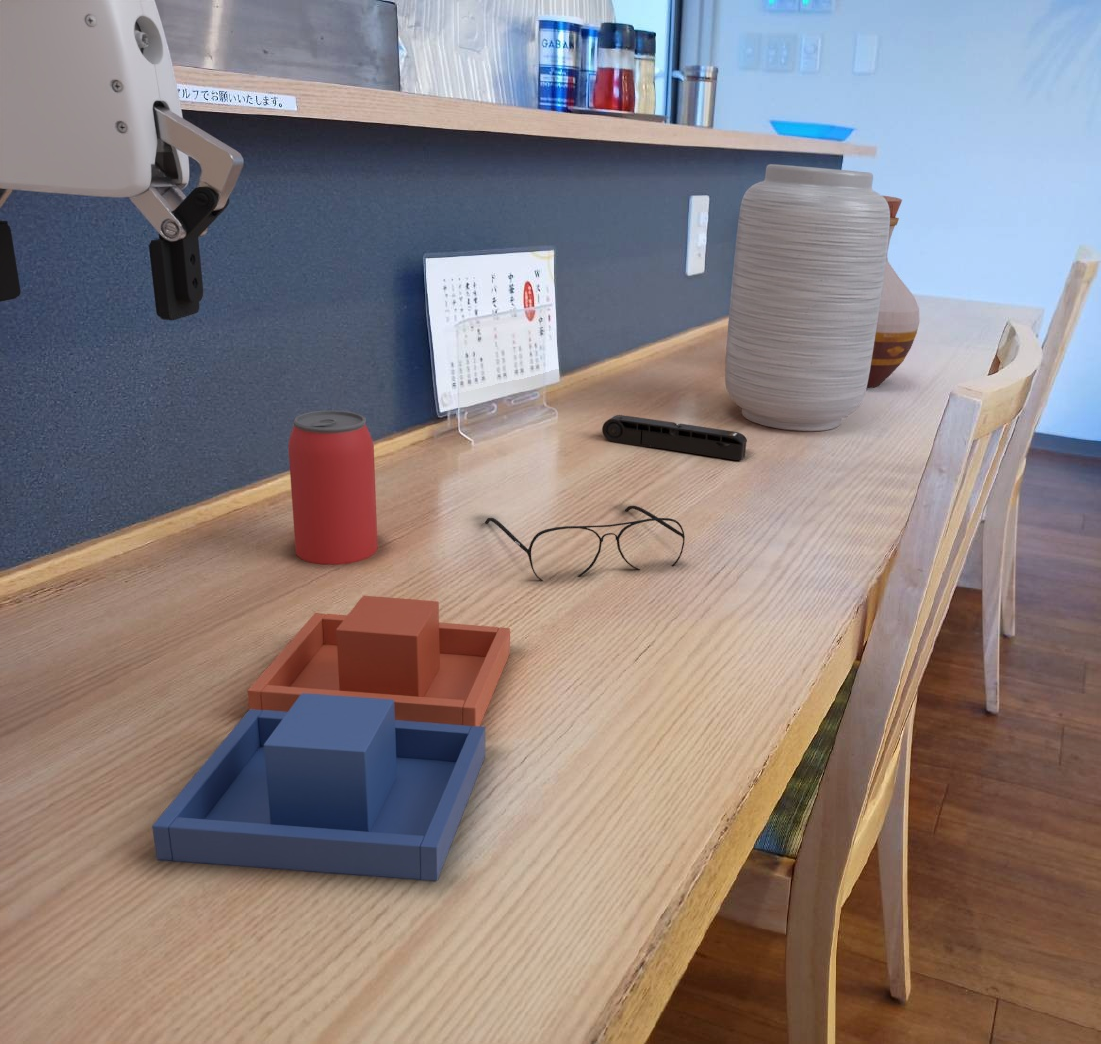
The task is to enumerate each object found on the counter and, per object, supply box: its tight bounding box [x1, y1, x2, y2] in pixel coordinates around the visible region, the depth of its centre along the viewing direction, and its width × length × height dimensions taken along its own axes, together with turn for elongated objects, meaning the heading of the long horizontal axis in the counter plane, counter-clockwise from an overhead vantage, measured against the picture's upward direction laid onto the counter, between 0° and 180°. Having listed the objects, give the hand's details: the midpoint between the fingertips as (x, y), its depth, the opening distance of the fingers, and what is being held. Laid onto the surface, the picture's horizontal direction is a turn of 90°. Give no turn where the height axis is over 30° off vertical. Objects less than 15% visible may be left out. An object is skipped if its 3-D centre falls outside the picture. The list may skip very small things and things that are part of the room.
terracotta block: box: [336, 595, 440, 697], centre depth 64 cm, size 5×5×5 cm
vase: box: [724, 163, 890, 432], centre depth 135 cm, size 20×20×34 cm
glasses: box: [484, 505, 685, 582], centre depth 90 cm, size 14×15×5 cm
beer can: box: [287, 409, 379, 566], centre depth 82 cm, size 7×7×12 cm
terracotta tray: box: [247, 612, 511, 727], centre depth 64 cm, size 14×11×3 cm
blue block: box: [264, 693, 397, 832], centre depth 52 cm, size 5×5×5 cm
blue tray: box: [151, 709, 486, 882], centre depth 53 cm, size 14×11×3 cm
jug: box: [867, 195, 921, 389], centre depth 163 cm, size 20×18×30 cm
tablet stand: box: [601, 414, 748, 461], centre depth 121 cm, size 18×3×3 cm, turn 74°
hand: (87, 308), depth 52 cm, fingers open, 9 cm apart
